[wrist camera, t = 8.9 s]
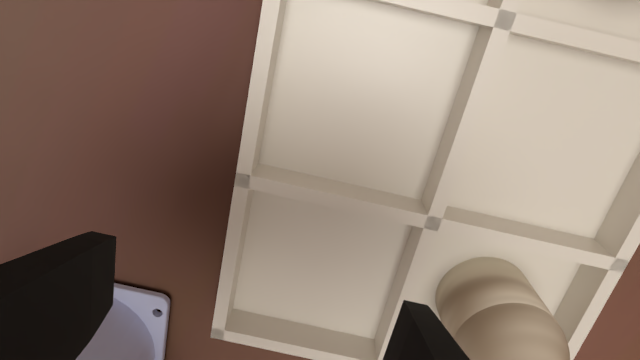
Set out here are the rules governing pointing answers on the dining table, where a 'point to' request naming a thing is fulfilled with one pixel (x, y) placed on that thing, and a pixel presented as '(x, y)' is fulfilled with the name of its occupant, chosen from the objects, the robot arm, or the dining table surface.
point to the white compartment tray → (429, 164)
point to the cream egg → (498, 313)
